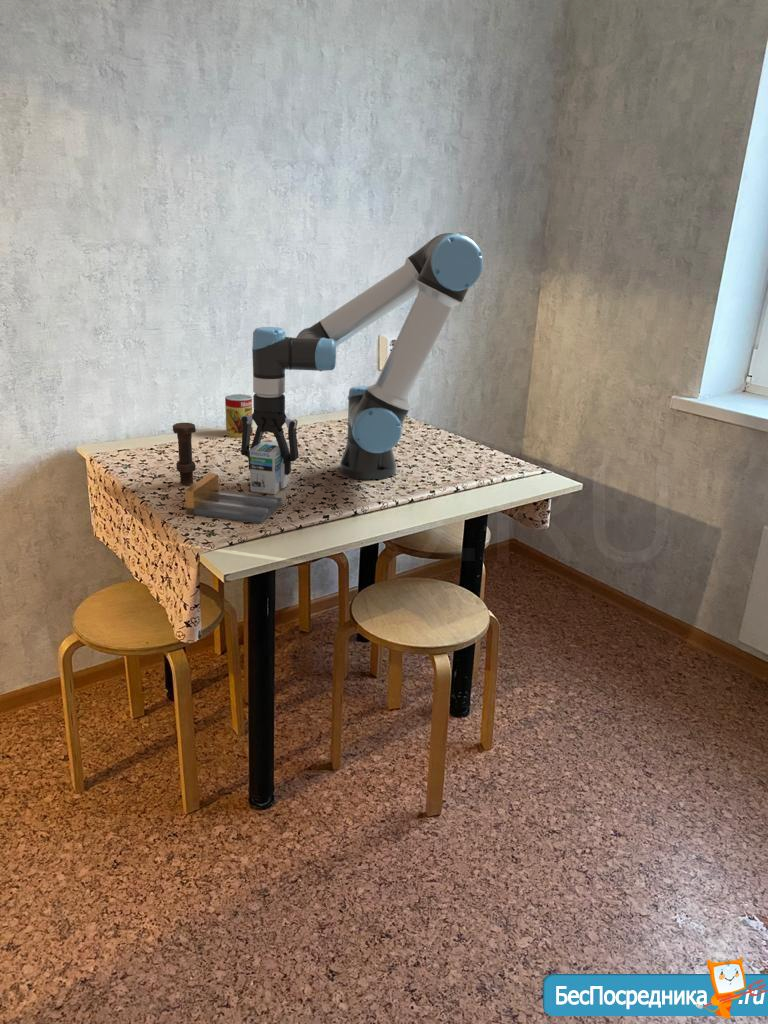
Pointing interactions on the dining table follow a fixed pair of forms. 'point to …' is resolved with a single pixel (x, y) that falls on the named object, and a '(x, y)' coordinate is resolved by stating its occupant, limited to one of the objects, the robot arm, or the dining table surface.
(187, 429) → the bolt
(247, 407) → the canned food
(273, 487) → the light bulb box
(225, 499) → the rail plate
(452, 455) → the dining table surface
